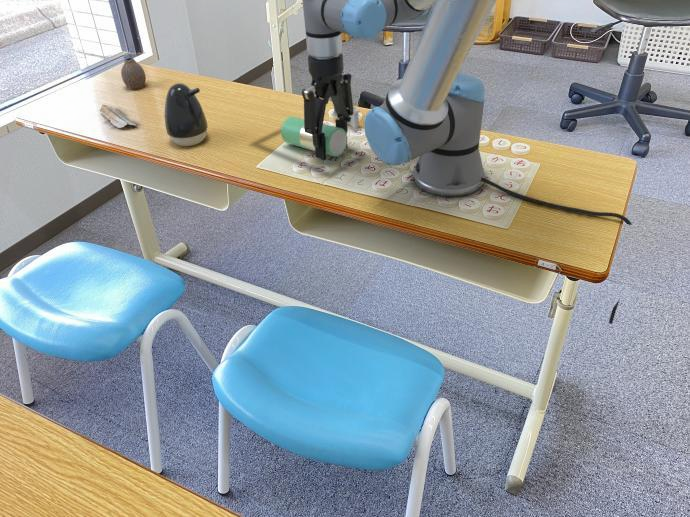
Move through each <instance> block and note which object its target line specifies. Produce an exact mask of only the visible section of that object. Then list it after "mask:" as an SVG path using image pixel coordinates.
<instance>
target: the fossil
mask: <svg viewBox="0 0 690 517" xmlns="http://www.w3.org/2000/svg"><path fill="white" fill-rule="evenodd" d="M98 111H99V113H101V114H103V116H104V117H105V118H106V119H107V120H108V121H109V122H110V123H111V124H112V125H113V126H114V127H116V128H119V129H121V128H124V127H125V126H127V125H129V126H136V127H137V124H136V123H135V122H133V121H132V120H130V119H129V118H127V117H126V116H125V115H124V114H123V113H121V112H120V111H118V110H117V109H116V108H114V107H113V106H111V105H106V104H102V105H101V107H100V108H99V110H98Z"/></svg>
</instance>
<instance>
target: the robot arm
mask: <svg viewBox="0 0 690 517" xmlns="http://www.w3.org/2000/svg"><path fill="white" fill-rule="evenodd" d="M496 2H497V0H302V8H303V19H304V29H305V41H306V51H307V54H308V55H307V64H308V65H307V66H308V73H309V74H310V76H311V82H310V87H308V88H307V89H306V88H302V90H301V95H302V98H303V119H304V131H305V132H306V133H309V134H312V138H313V146H314V147H315V151H314V153H315V158H316V159H319V160H321V161H326V160H327V154H326V146H325V133H323V132H322V127H323V124H324V120H325V114H326V108H327V105H328V104H329V100H331V103H332V106H333V105H334V106H333V109H334V108H335V111H336V114H337V115H336V114H335V115H336V117H337V118H338V119H337V118H336V119H335V120H334V122H335V123H334V124H335V127H338V128H342V129H344V130H345V132H346V134H347V135H348V130H349V129H348V123H349V122H350V121H351V117H349V116H350V115H351V116H352V115H353V113H354V111H353V106H354V104H353V103H354V102H353V95H352V87H351V86H352V85H351V84H352V74H351V73H348V72H344V69H345V68H344V55H343V53H342V52H343V51H344V48H343V47H344V46H343V34H345V35H348V36H350V37H352V38H356V39H363V40H372V39H374V38H376V37H377V36H378V35H379V34H381V32H382V31H383V30H384V28H387V27H390V26H393V25H395V24H399V23H404V22H407V21H412V20H416V19H418V18H420V17H422V16H424V15H426V14H427V13H428V12H429V14H428V16H427V18H426V21H425V23H424V26H423V28H422V30H421V33H420V35H419V38H418V40H417V42H416V45H415V47H414V49H413V52H412V54H411V56H410V59H409V62H408V64H407V66H406V69H405V72H404V74H403V76H402V78H399V79H397V80H396V81H394V82H393V83H392V84H391V85H390V86H389V88H388V91H387V93H386V96H385V98H384V101H383V103H382V104H381V105H379V106H374V107H372V109H370V110H369V111H368V112H367V113H366V114H365V117H364V121H363V127H364V128H363V129H364V135H365V137H366V140H367V143H368V145H369V147H370V149H371V151H372V152H373V153H374V155H375V156H376V157H377V159H379V160H380V161H381V162H382V163H384V164H386V165H388V166H393V167H395V166H400V165H403V164H407V163H410V162H411V161H413V160H415V159H417V161H416V163H415V165H414V169H413V181H414V183H415V185H417V187H418V188H419V189H421V190H422V191H424V192H427V193H429V194H432V195H435V196H441V197H461V196H467V195H469V194H472V193H475V192H477V191H479V189H481V188H482V186H483V184H484V183H486V184H487V185H489V186H492V187H494V188H496V189H497V190H499V191H501V192H504V193H507V194H508V195H511V196H513V197H517V198H519V199H522V200H525V201H528V202H531V203H535V204H539V205H541V206H546V207H549V208H554V209H558V210H562V211H569V212H574V213H579V214H583V215H590V216H595V217H613V218H618V219H620V220H622V221H623V222H624V223H625V224H627V225H628V226H633V224H632V222H631V221H630V220H629V219H628V218H627V217H626V216H624V215H623V214H620V213H616V212H608V211H607V212H606V211H603V212H602V211H592V210H587V209H583V208H581V209H580V208H576V207H572V206H566V205H561V204H557V203H552V202H547V201H544V200H540V199H537V198H533V197H529V196H527V195H524V194H521V193H518V192H515V191H513V190H510V189H508V188H505V187H503V186H501V185H499V184H497V183H496V182H494V181H492V180H489V179H487V178H485V169H484V166H483V161H482V156H481V152H480V140H481V132H482V122H483V114H484V106H485V103H486V99H485V93H486V92H485V91H486V87H485V85H484V82H483V81H482V80H481V79H480V78H478V77H475V76H474V75H470V74H467V73H461V71H462V68H463V66H464V64H465V62H466V60H467V58H468V56H469V55H470V53H471V50H472V48H473V47H474V45H475V42H477V39H478V36H479V35H480V33H481V31H482V30H483V27H484V25H485V23H486V21H487V20H488V18H489V15H490V14H491V12H492V9H493V8H494V6H495V4H496ZM347 108H348V109H347ZM316 127H317V128H316ZM346 149H348V144H347V145H346V148H345V150H346ZM620 299H621V298H619V299H618V300H617V302H616V303H615V305H614V306H612V309H611V313H610V317H609V320H608V324H610V325H613V322H614V319H615V316H616V312H617V309H618V306H619V304H620Z"/></svg>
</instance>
